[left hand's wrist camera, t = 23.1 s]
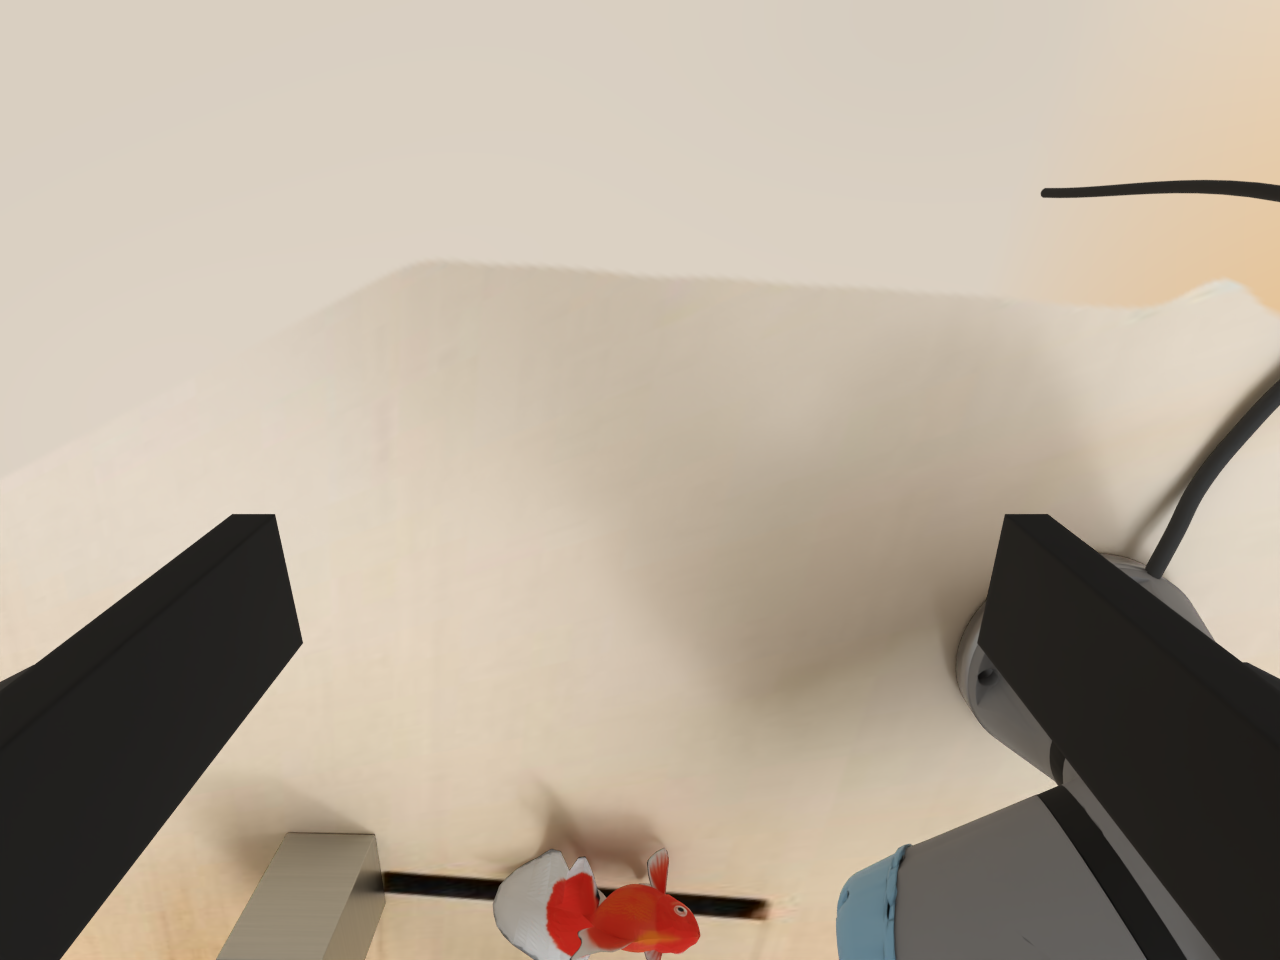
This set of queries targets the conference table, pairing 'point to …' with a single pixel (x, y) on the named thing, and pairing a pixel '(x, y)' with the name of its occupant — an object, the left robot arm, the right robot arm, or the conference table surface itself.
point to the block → (312, 902)
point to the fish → (590, 912)
